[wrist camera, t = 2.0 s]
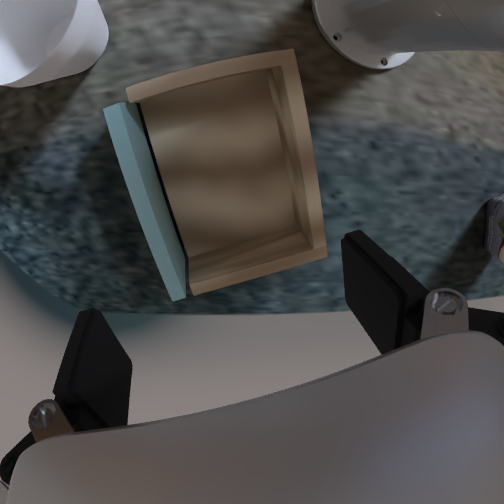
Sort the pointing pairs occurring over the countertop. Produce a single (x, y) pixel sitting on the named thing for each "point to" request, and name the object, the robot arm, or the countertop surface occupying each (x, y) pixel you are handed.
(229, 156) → the crate
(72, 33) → the cup
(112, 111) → the panel
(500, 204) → the juice carton
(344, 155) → the countertop surface
